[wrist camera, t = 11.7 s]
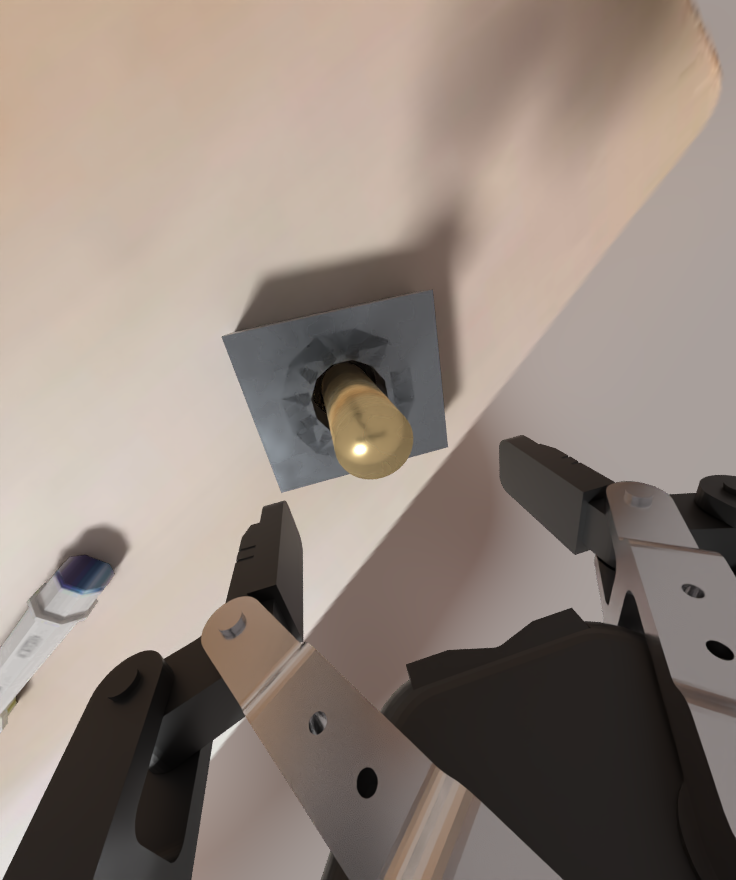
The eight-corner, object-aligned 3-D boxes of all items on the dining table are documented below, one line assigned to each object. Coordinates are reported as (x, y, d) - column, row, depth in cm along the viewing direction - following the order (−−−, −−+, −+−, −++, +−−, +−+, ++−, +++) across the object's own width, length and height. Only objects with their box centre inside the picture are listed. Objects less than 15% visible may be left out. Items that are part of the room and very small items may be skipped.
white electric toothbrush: (107, 601, 26) (-62, 817, 27) (139, 551, 32) (0, 729, 33) (35, 576, 24) (-145, 811, 25) (84, 529, 30) (-62, 719, 31)
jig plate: (234, 331, 23) (221, 336, 19) (413, 292, 24) (432, 289, 21) (284, 468, 28) (281, 492, 24) (430, 429, 29) (447, 447, 26)
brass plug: (316, 369, 25) (325, 417, 14) (363, 358, 25) (407, 396, 15) (328, 414, 27) (344, 487, 16) (372, 403, 27) (418, 467, 16)
